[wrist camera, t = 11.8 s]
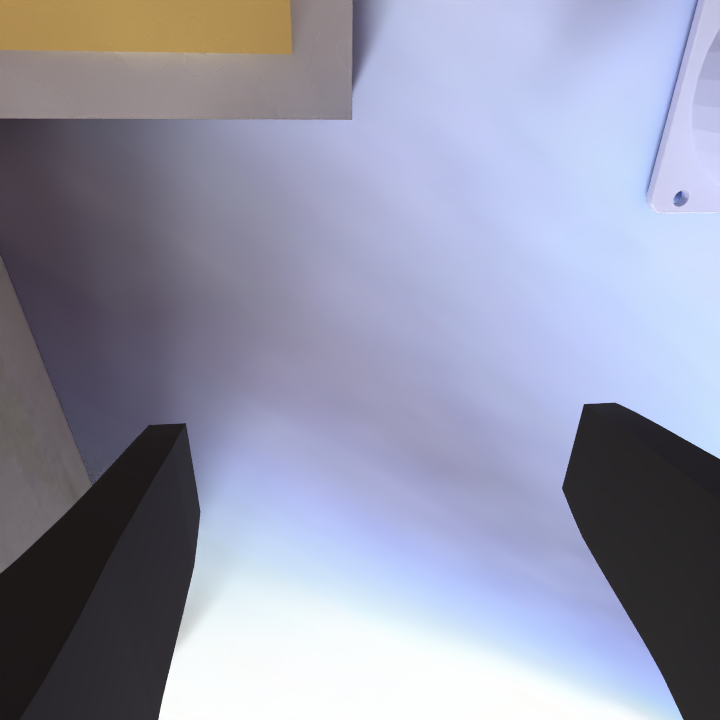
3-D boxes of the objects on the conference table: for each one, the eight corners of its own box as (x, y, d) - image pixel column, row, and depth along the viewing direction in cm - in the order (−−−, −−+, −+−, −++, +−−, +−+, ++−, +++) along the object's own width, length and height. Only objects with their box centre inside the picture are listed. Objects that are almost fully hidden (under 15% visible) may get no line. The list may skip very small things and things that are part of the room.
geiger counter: (-1442, 712, 4) (-51, 1169, 17) (-543, 604, 5) (163, 1130, 17) (-160, 221, 16) (94, 698, 29) (61, 202, 17) (217, 681, 29)
